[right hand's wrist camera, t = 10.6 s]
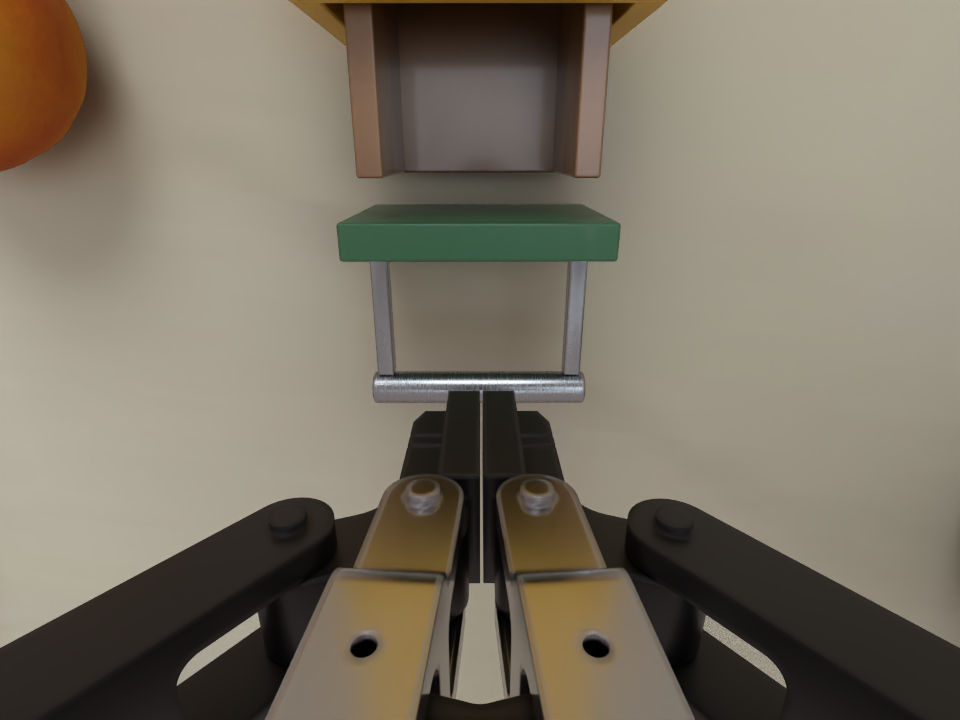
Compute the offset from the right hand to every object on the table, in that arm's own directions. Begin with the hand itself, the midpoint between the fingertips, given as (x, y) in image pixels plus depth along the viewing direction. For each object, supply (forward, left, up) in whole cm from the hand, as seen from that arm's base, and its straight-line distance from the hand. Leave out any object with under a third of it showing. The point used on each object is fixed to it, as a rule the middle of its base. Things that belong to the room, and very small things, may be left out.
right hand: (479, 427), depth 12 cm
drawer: (+6, 0, -12) cm, 14 cm away
